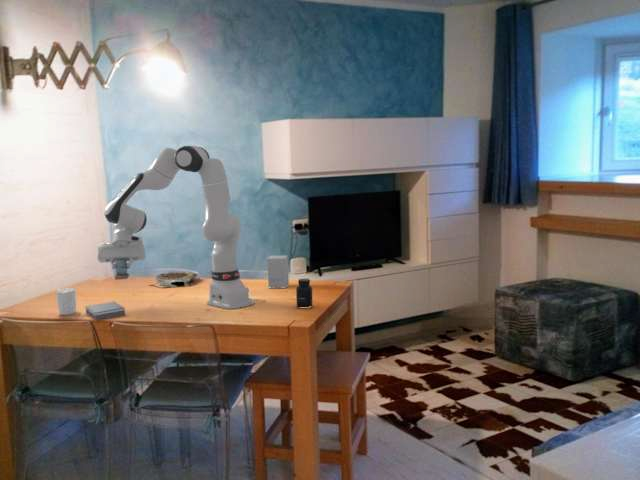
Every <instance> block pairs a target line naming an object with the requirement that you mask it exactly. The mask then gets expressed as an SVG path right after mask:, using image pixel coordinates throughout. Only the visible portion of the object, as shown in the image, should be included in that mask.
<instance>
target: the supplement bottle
mask: <svg viewBox="0 0 640 480" xmlns="http://www.w3.org/2000/svg"><path fill="white" fill-rule="evenodd" d="M310 280H311V279H309V278H299V279H298V283H297V284H298V285H297V286H296V288H295V291H296V292H295V293H296V294H295V295H296V308H297V307H309V306H312V307H313V287H312V285H310V284H311V281H310Z"/></svg>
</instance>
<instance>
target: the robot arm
mask: <svg viewBox="0 0 640 480" xmlns="http://www.w3.org/2000/svg"><path fill="white" fill-rule="evenodd" d="M210 157H211V156H210V154H209V152H208V151H207V150H206V149H205V148H203V147H202V146H201V147H200V146H197V145H196V146H195V145H183V146H181V147H179V148H178V149H175V148H172V147H166V148H165V149H163V150H161V152H160V153H159V154H158V156H156V157H155V160H154V161H152V162H153V163H152V164H151V165H150V167H149V168H148V169H146V170H145V171H143V172H139V173H137V174H136V175H134V176H133V178H131V180H129V181H128V182H127V184H126V185H125V186H124V187H123V188H122V189H121V191H120V192H119V193H118V194H117V195H116V197H114V198H113V199H112V200H111V201H110V202H109V203H107V206H106V207H105V208H104V212H103V213H104V217H105V219H106V221H108V223H111V224H112V231H113V235H112V238H111V239H112V240H111V241H112V242H108V243H101V244H99V245H98V246H97V260H98V262H99V263H110V265H111V269H112V270H116V263H115V261H116V260H120V259H126V261H127V264H126V267H127V269H131V266H132V264H133V263H134V262H135V261H144V260H146V257H147V256H146V255H147V254H146V251H145V246H144V243H143V240H142V237H141V236H136V235H134V234H137V233H139V232H140V231H142V230H144V229H145V228H146V226H147V222H148V221H147V220H148V219H147V214H146V213H145V211H143V210H141V209H139V208H136V207H133V206H130V205H128V204H127V203H128V202H129V201H130V199H131V198H132V197H133V196H134V195H135V194H136V193H137V192H140V191H144V190H151V191H160V190H164V189H166V188H168V187H169V186H170V185H171V183H172V182H173V180H174V178H175V177H176V175H177V174H178V172H179V171H181V170H182V171H185V172H190V173H191V172H192V173H198V175H199V176H200V178H201V179H200V180H201V184H202V185H201V186H202V190H203V197H204V205H205V206H204V207H205V208H204V209H205V210H204V211H205V212H204V222H203V225H202V228H201V230H202V231H201V232H202V234H203V236H204V238H205V239H206V240H208V241H210V242H214V245H213V249H212V250H211V254H210V255H211V279H212V280H211V282H210V285H209V297H208V299H209V300H207V301H206V305H210V306H213V307H216V308H217V307H218V308H221V309H226V310H233V309H240V307H241V308H246V307H250V306H252V305H255V304H254V303H255V301H254V300H253V299H252V298H249V291H250V289H249V287H247V286H245V285H244V283H243V282H242V280H241V275H240V271H239V268H238V257H237V252H238V242H239V237H240V231H241V228H242V221H241V219H240V217H239V216H238V215H236V214H233V213H229V208H230V207H229V206H230V203H231V194H230V188H229V184H228V183H229V182H228V178H227V173H226V170H225V167H224V164H223V162H222V161H221V160H220V159H218V158H213V157H212V158H210ZM249 305H250V306H249ZM245 306H246V307H245Z"/></svg>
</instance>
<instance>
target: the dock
mask: <svg viewBox="0 0 640 480" xmlns="http://www.w3.org/2000/svg"><path fill="white" fill-rule="evenodd" d="M84 308H85V314H87V315H88V316H90V317H91V318H93V319H94V320H95V319H98V320H103V319H102V318H104V319H108V318H113V317H114V318H115V317H119V316H124V315H126V314H125V313H126V312H125V310H126V308H125V307H124V306H122V305H120V304H119V303H118V302H115V301H108V302H102V303H97V304H96V303H95V304H91V305H87V306H85V307H84Z"/></svg>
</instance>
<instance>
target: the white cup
mask: <svg viewBox="0 0 640 480" xmlns="http://www.w3.org/2000/svg"><path fill="white" fill-rule="evenodd" d="M76 291H77V290H76V288H73V287H68V288H67V287H66V288H60V289H57V290H55V297H56V303H57V308H58V314H59V315H61V316H68V315H74V314H76V312H77V292H76Z"/></svg>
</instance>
